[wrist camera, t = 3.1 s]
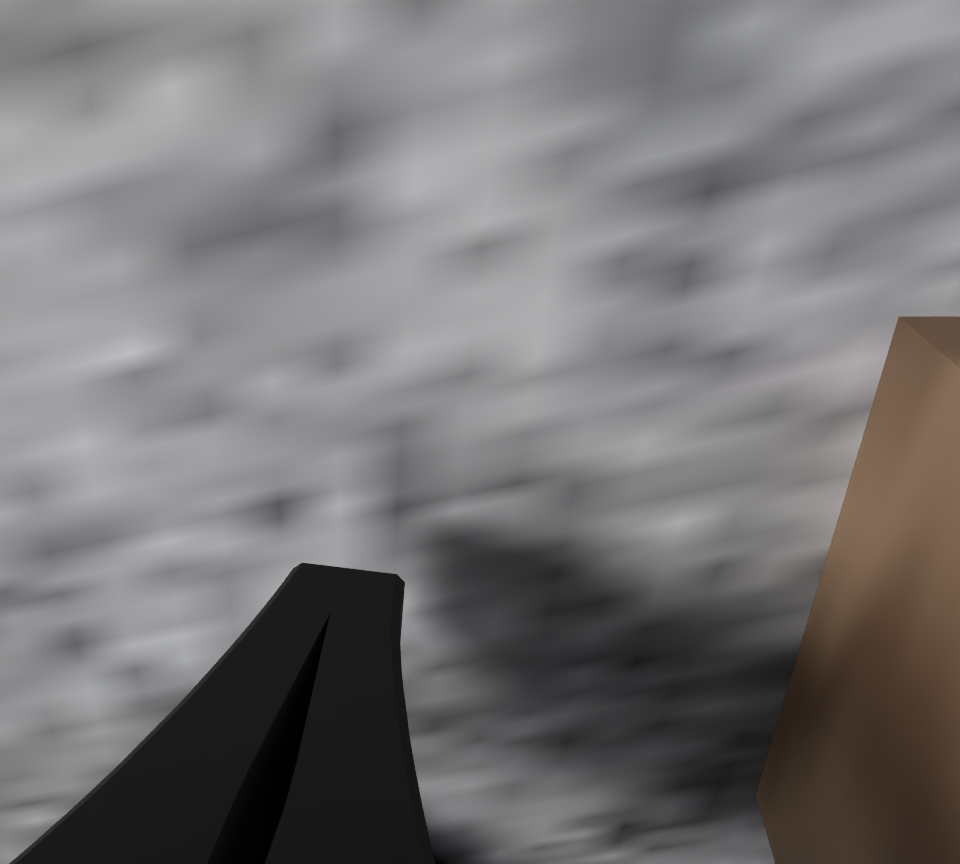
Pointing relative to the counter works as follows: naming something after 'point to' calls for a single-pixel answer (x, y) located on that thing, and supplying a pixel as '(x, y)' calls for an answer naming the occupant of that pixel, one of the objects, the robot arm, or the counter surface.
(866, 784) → the walnut block
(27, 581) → the counter surface
